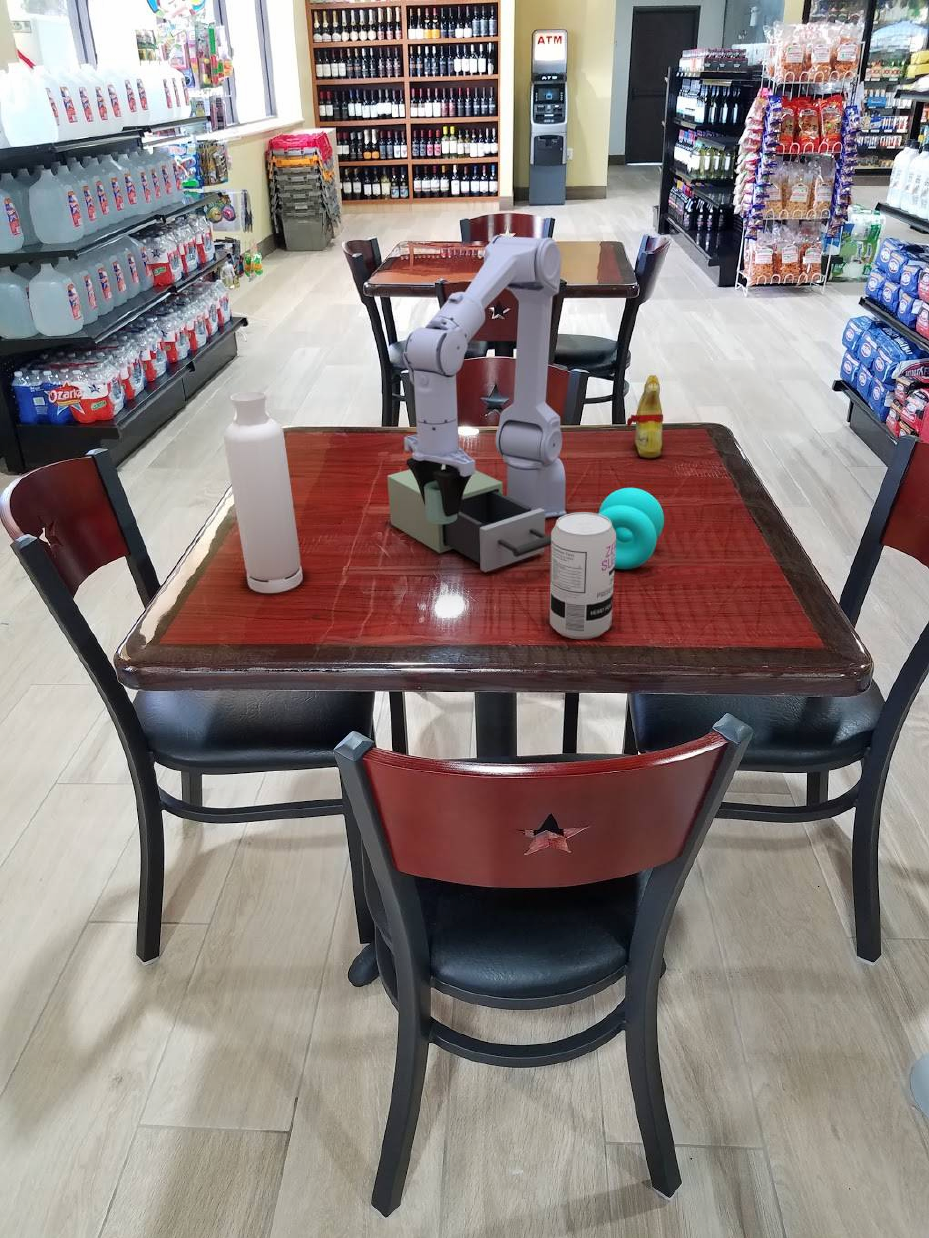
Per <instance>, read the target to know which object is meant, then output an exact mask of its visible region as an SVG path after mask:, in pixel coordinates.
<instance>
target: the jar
mask: <svg viewBox="0 0 929 1238" xmlns="http://www.w3.org/2000/svg"><path fill="white" fill-rule="evenodd" d="M424 492H425V509H426V519H427V521H428V522H430V523H433V524H448V523H452V522H454V521H455V520H456V519H457V514H456V515H453V516H450V517H447V516H445V514H444V511H443V506H442V498H441V493H440V489H439V486H438V483H437V481H433V482H429V483H427V484H426V485H425V487H424Z"/></svg>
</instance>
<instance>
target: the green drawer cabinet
mask: <svg viewBox="0 0 929 1238" xmlns="http://www.w3.org/2000/svg"><path fill="white" fill-rule="evenodd" d="M442 469H445V465H442ZM442 469H441V470H442ZM386 477H387V490H388V503H389V504H388V505H389V515H390V516H389V517H390V518H389V519H390V525H391V526H394V527H396V528H397V529H399V531H402V532H403V533H405V534H407V535H409V536H410V537H412V538H414V539H415V540H417V541H419V542H420V543H421V544H423V545H425V546H427V547H428V548H430V549H432V550H433V551H435V552H437V553H439V554H442V553H445V552H447V551H450V550H453V549H454V548H452V547H450V546H449V545H447V544H445V543H444V542H443V526H442V524H433V523H430V522H428V521H427V519H426V509H425V505H424V502H423V499H422V496H421V493H420V490H419V487H418V484H417V481H416V479H415V477H414V475H413V473H412V471H411V470H410V469H406V470H402V471H400V472H396V473H391V474H388V475H386ZM492 490H495V491H497V492H499V493H501V494H503V495H504V483H503V481H500V480H499V479H496V478H494V477H492V476H490V475H487V474H485V473H483V472H481V471H479V470H476V469H475V474H472V476H471V477H470V479H469V481H468V483H467V485H466V487H465V490H464V493H463V497H462V499H466V498H469V497H472V496H475V495H479V494H482V493H485V492H489V491H492ZM454 550H455V549H454Z"/></svg>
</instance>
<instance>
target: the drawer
mask: <svg viewBox="0 0 929 1238" xmlns="http://www.w3.org/2000/svg"><path fill="white" fill-rule="evenodd" d="M442 526H443V542H444V543H445V544H447V545H449V546H450V547H452V548H454V550H455V551H457V552H459V553H461V554H462V555H464V556H466V557H468V558H469V559H471V560H472V561H474V562H475V563H478V564H480V571H482V572H484V573H487V572H490V571H493V570H496V569H499V568H501V567H504V566H507V565H510V564H513V563H515V562H518V561H521V560H524V559H526V558H527V559H528V558H530V557H532V556H535V555H538V554H541V553H544V552H545V550H546V549H545V548H547V547H549V546H551V534H549V535H547V534H546V518H545V510H543V509H541V508H539V509H536V510H533V511H531V508H530V507H528V506H526V505H524V504H522V503H520V502H518V501H516V500H514V499H511V498H509V497H507V495H505V494H504V493H503V494H501V493H499V492H497V491H495V490H492V491H489V492H485V493H482V494H479V495H475V496H472V497H469V498H466V499H462V501H461V505H460V510H459V513H458V514H457V519H456V520H455V521H454V522H452V523H448V524H442Z"/></svg>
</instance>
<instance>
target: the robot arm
mask: <svg viewBox="0 0 929 1238" xmlns="http://www.w3.org/2000/svg"><path fill="white" fill-rule="evenodd" d="M561 270H562V252H561V250H560V248H559V246H558V244H557V243H556V241H555V239H554V238H552V237H545V238H542V237H541V238H540V237H523V236H507V235H506V236H505V235H502V234H496V235H494V236H492V238H491V239H490V241H489V243H488V244H487V245H485V248H484V253H483V264H482V265H481V267H480V269H479V271H478V272H477V273H476V275H475V276H474V277H473V279H472V281H471V282H470V284H469V285H468V287H467V288H466V290H465V291H458V292H452V293H451V294H450V295H449V297H448V298H447V300H446V302H444V304H443V305H442V307H440V309H439V310H438V311H437V313H435V315H434V316H433V317H432V318H431V320H429V322H428V323H427V324H426V326H425V327H417V328H416V329H414V330H413V331H411V332H410V333H409V334H408V335H407V338H406V340H405V343H404V350H403V352H402V360H403V363H404V366H405V367H406V369H407V370H408V374H409V382H410V383H411V384H412V385H413V388H414V389H413V390H414V405H415V419H416V420H415V422H416V434H412V435H409V436H405V437H403V443H404V451H406V452H412V453H411V457H409V458H407V459H406V466H407V467H408V469H409V470H411V471H412V473H413V475H414V477H415V479H416V481H417V484H418V487H419V490H420V493H421V496H422V499H423V502H424V505H425V492H424V487H425V485H426V484H427V483H429V482H433V481H437V483H438V486H439V489H440V493H441V498H442V506H443V511H444V514H445V516H447V517H450V516H453V515H456V514H458V513H459V510H460V505H461V501H462V497H463V493H464V490H465V487H466V485H467V483H468V481H469V479H470V477H471V476H472V474H475V470H476V459H473V458H471V457H470V456H469V455H468V454H467V453H466V451H464V449H462V447H461V446H459V444H460V443H459V421H458V420H459V419H458V396H457V395H458V394H457V373H458V372H459V371H460V370H461V368H462V367H463V364H464V360H465V359H464V358H465V354H466V352H467V351H468V347H469V345H468V344H469V342H471V340H472V339H473V338H474V336H475V335H476V334H477V332H478V331H479V330H480V329H481V327H482V326H483V325H484V323H485V321H486V312H485V309H486V308H487V307H488V306H489V305H491V303H492V302H493V301H494V300H495V299H496V298H497V297H498V296H499V295H500V294H501V293H502V292H503V290H505V289H506V290H507V291H510V292H511V293H512V294H513V295H514V297H515V298H516V300H517V301H518V312H517V313H518V315H517V333H516V336H517V337H516V352H515V371H514V387H513V388H514V390H513V392H514V393H513V403H512V404H511V405H509V406H508V407H506V408H504V410H502V411H501V412H500V414H499V421H498V427H497V430H496V433H495V439H494V440H495V441H494V442H495V447H496V451H497V453H498V454H499V455H500V456H501V457H502V462H503V463H506V496H507V497H509V498H511V499H514V500H516V501H518V502H520V503H522V504H524V505H526V506H528V507H530V508H531V511H533V510H536V509H539V508H541V509H543V510H545V519H549V518H555V517H562V516H564V515H566V514H567V511H566V480H567V479H566V470H565V466H564V463H563V461H562V460H561V459H560V458H559V456H560V454H561V452H562V447H563V436H562V430H561V416H560V415H559V414H558V413H557V412H556V411H555V410H553V408H552V407H551V406H549V404H548V403H547V402H546V400H547V399H546V398H547V386H548V385H547V384H548V369H549V354H550V340H551V339H550V338H551V325H552V324H551V323H552V311H553V310H552V308H553V297H554V296H556V295H558V294H559V293H560V285H561V272H562V271H561ZM442 465H445V469H442ZM441 469H442V470H441Z"/></svg>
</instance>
